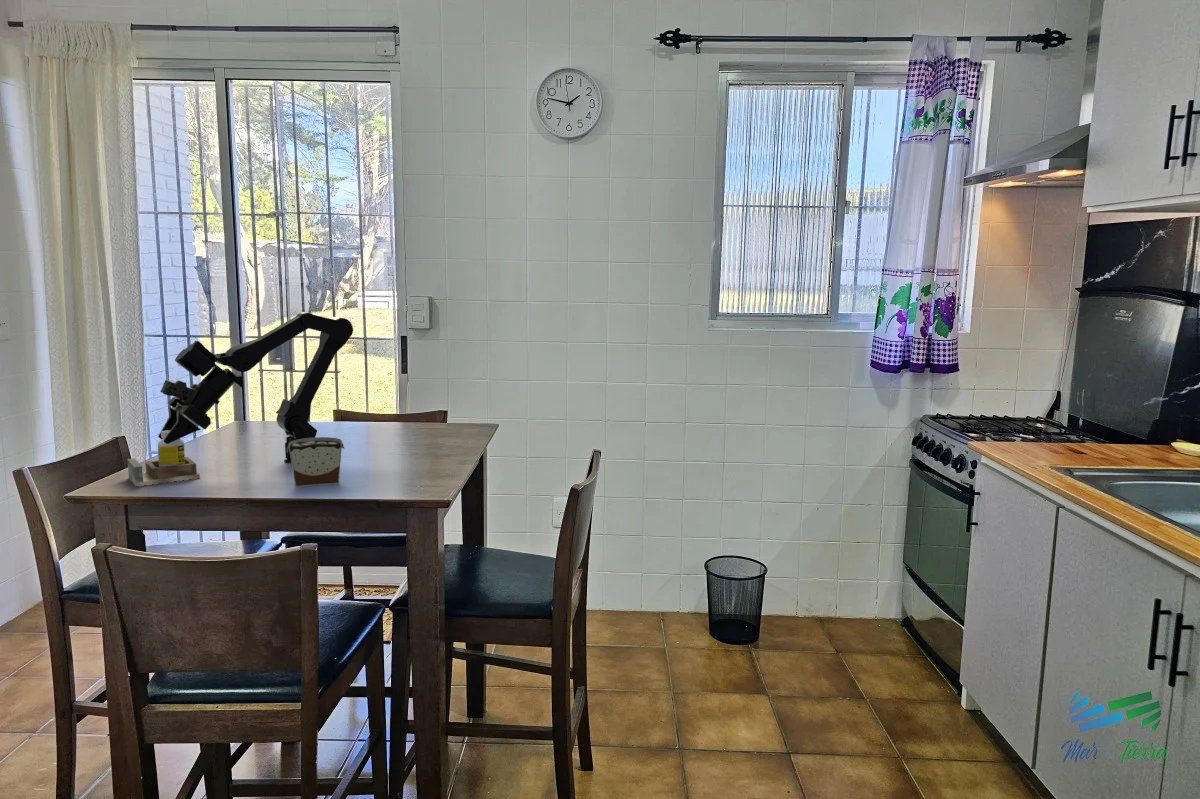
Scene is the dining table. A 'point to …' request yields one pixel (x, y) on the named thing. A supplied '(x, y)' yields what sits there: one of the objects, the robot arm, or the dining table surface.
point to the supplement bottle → (170, 451)
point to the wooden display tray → (161, 472)
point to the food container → (315, 460)
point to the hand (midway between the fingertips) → (162, 440)
